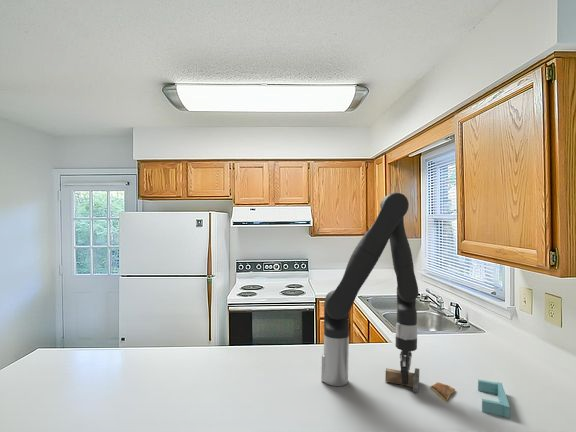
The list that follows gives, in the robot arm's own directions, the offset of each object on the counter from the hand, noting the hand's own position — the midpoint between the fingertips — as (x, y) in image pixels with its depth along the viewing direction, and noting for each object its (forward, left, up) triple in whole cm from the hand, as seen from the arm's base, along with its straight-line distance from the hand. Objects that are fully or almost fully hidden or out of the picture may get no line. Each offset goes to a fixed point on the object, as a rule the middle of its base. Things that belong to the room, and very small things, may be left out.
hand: (405, 382), depth 134 cm
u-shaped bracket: (+28, 0, -1) cm, 28 cm away
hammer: (-2, 0, -1) cm, 2 cm away
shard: (+14, 0, -2) cm, 14 cm away
